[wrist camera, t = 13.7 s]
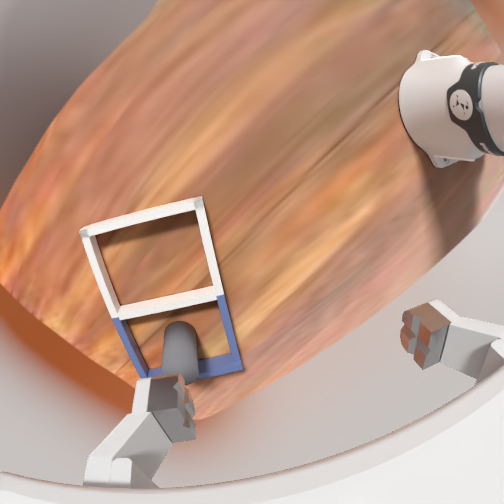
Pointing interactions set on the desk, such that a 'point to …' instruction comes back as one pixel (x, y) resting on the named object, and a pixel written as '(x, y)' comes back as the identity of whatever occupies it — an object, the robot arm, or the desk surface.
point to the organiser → (168, 302)
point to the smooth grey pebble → (180, 351)
